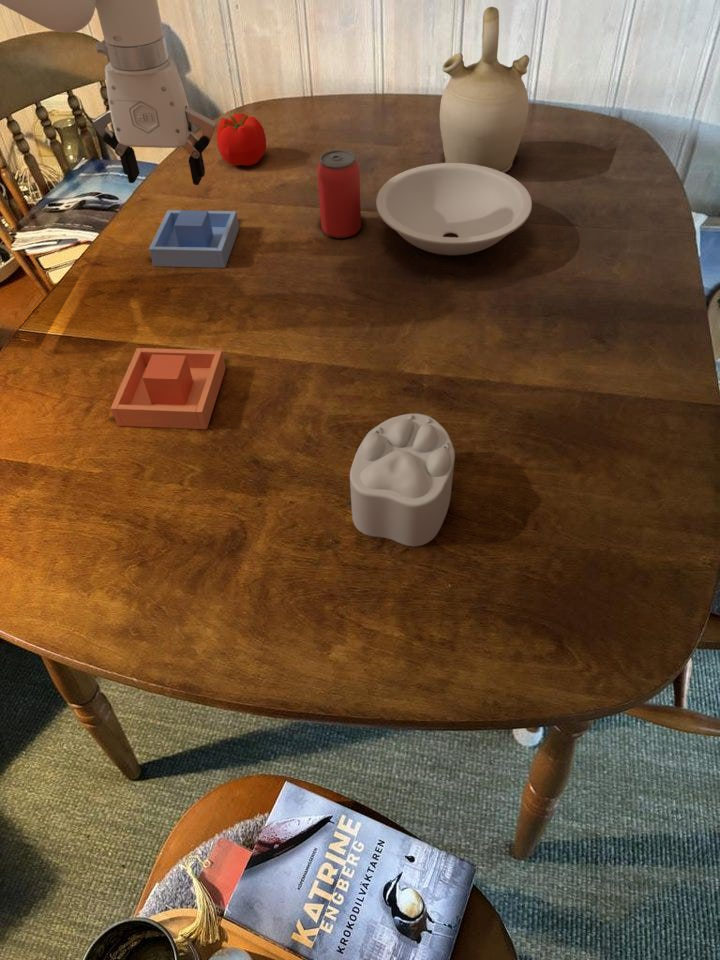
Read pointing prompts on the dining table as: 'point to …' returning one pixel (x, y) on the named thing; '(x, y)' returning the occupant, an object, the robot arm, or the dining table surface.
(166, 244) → the blue tray
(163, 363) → the terracotta block
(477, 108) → the jug
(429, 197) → the vessel sink basin
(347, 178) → the beer can
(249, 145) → the tomato
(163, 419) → the terracotta tray
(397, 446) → the lumpy-topped squat cylinder
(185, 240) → the blue block
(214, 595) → the dining table surface
